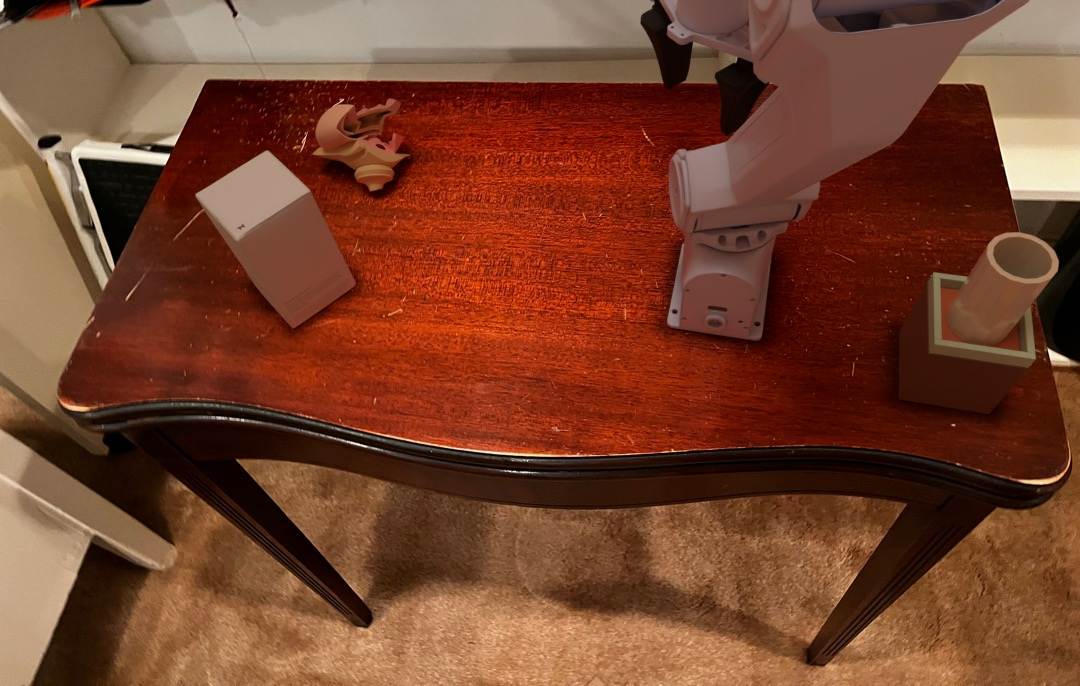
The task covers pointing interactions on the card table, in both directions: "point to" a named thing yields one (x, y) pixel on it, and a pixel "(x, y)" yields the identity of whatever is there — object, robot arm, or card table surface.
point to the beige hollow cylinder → (1001, 288)
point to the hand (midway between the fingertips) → (703, 105)
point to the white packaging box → (278, 237)
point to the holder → (957, 355)
